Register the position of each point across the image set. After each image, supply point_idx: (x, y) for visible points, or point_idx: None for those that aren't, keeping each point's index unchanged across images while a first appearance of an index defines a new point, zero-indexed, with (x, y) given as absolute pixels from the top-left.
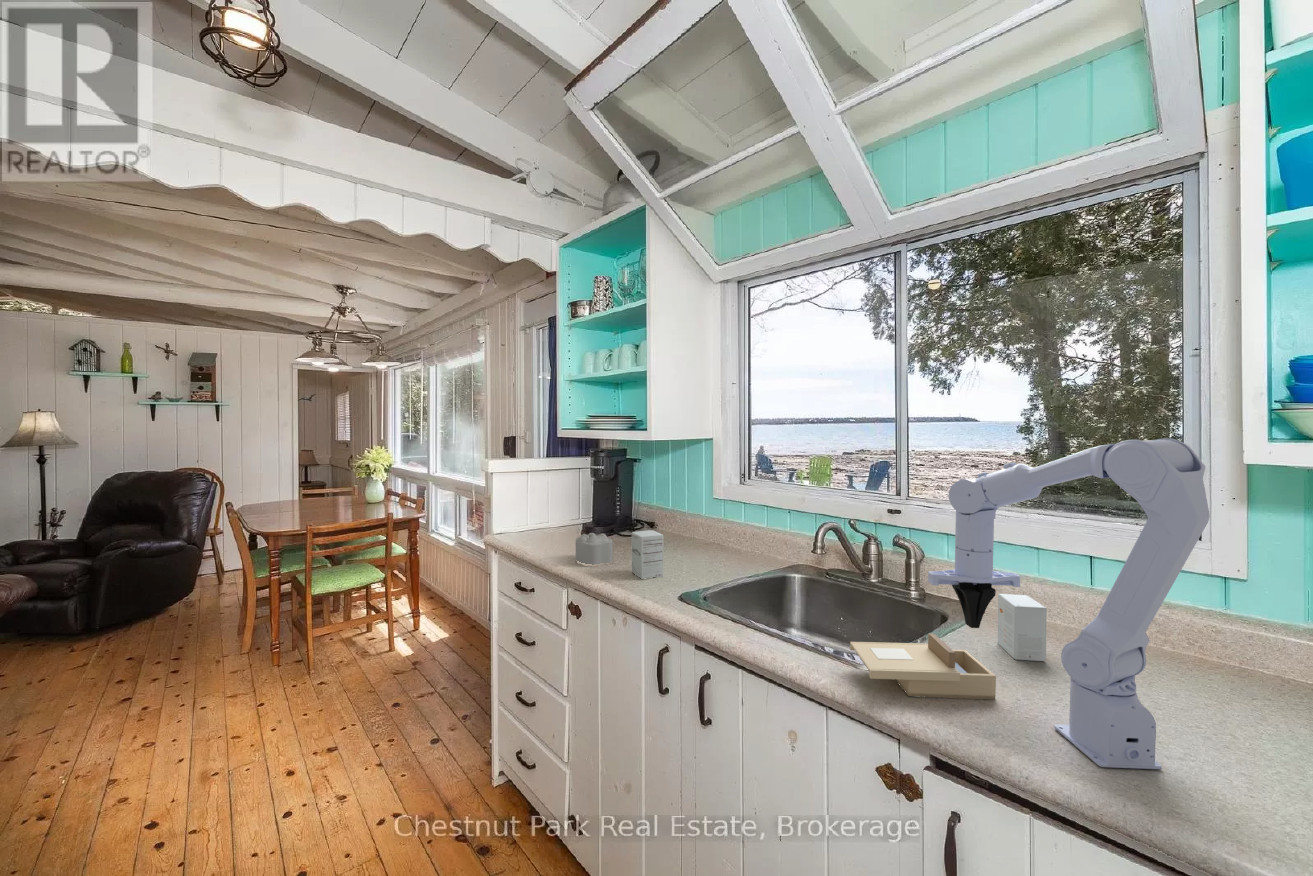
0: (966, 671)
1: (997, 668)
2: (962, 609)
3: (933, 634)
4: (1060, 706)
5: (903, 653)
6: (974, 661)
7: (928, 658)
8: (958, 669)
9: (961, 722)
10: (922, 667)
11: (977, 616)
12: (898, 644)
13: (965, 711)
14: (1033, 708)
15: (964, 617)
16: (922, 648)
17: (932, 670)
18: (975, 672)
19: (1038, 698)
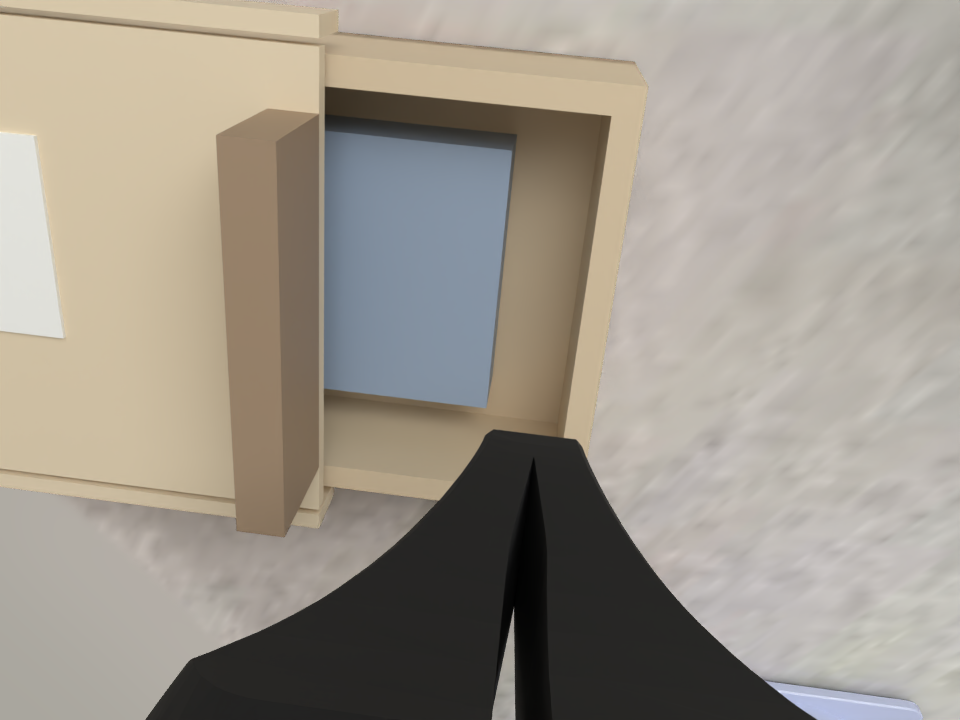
0: (597, 142)
1: (952, 11)
2: (437, 504)
3: (259, 167)
4: (897, 517)
5: (10, 232)
6: (585, 294)
7: (187, 320)
8: (461, 267)
9: (275, 588)
10: (95, 446)
11: (515, 677)
12: (11, 27)
13: (342, 515)
14: (723, 521)
15: (475, 454)
16: (208, 127)
17: (147, 489)
18: (580, 285)
19: (850, 437)
